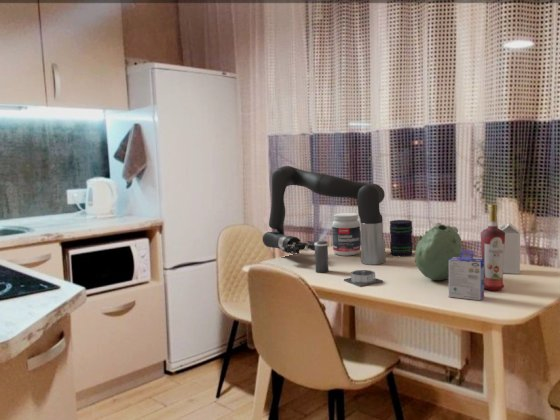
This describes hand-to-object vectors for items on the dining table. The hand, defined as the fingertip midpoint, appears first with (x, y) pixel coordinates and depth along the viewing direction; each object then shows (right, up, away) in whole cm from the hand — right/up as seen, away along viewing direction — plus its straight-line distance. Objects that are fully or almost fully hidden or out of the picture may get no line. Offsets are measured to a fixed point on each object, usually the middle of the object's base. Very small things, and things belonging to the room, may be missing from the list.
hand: (307, 249), depth 203 cm
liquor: (+59, -10, -44) cm, 74 cm away
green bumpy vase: (+46, -9, -29) cm, 55 cm away
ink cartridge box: (+47, -11, -51) cm, 70 cm away
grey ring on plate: (+19, -9, -27) cm, 34 cm away
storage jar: (+43, -3, +15) cm, 46 cm away
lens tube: (+5, -8, -9) cm, 13 cm away
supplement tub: (+20, -4, +22) cm, 30 cm away
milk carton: (+74, -6, -23) cm, 78 cm away
